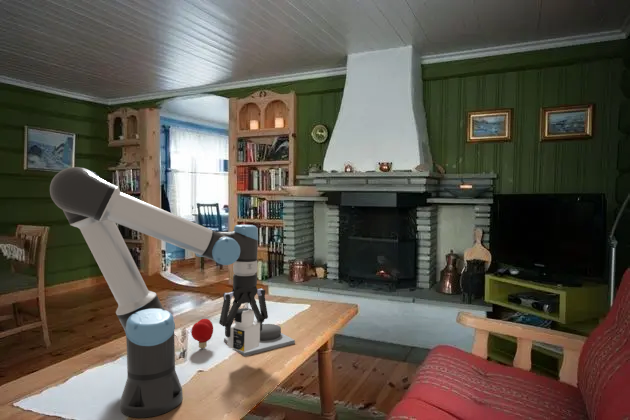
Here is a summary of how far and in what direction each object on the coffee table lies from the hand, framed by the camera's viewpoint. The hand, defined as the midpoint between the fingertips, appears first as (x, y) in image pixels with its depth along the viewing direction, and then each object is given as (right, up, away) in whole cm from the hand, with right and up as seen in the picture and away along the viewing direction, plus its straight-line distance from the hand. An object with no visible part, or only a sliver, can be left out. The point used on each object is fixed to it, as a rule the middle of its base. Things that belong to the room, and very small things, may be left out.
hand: (243, 343), depth 134 cm
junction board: (+2, -5, +19) cm, 20 cm away
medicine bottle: (0, -1, 0) cm, 1 cm away
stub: (+5, -4, +23) cm, 24 cm away
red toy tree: (-17, -6, +13) cm, 22 cm away
